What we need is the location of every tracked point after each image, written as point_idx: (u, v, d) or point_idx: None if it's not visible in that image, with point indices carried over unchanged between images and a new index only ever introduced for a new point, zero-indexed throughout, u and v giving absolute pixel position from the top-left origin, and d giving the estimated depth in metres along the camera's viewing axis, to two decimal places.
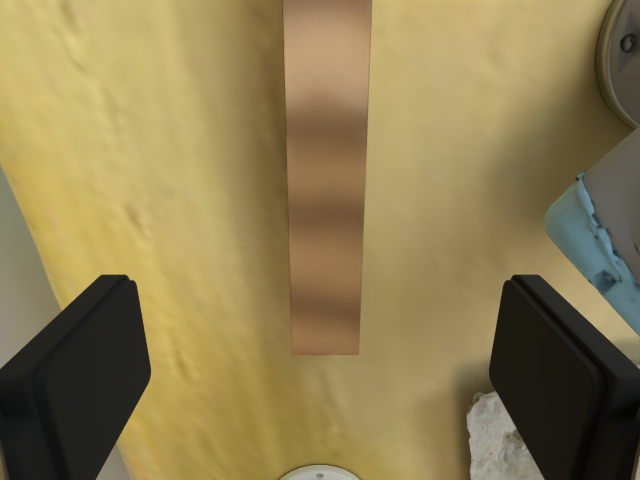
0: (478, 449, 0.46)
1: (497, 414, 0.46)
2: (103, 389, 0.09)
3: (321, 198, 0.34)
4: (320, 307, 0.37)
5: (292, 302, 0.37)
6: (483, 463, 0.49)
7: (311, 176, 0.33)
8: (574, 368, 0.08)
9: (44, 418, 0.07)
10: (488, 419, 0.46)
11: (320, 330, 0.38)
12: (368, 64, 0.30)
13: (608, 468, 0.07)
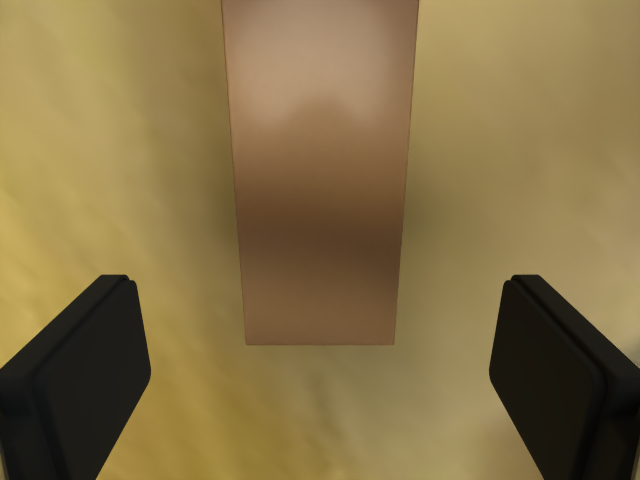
0: None
1: None
2: (103, 389, 0.09)
3: None
4: (306, 233, 0.16)
5: (241, 220, 0.16)
6: None
7: None
8: (574, 368, 0.08)
9: (44, 418, 0.07)
10: None
11: (308, 290, 0.17)
12: None
13: (608, 468, 0.07)
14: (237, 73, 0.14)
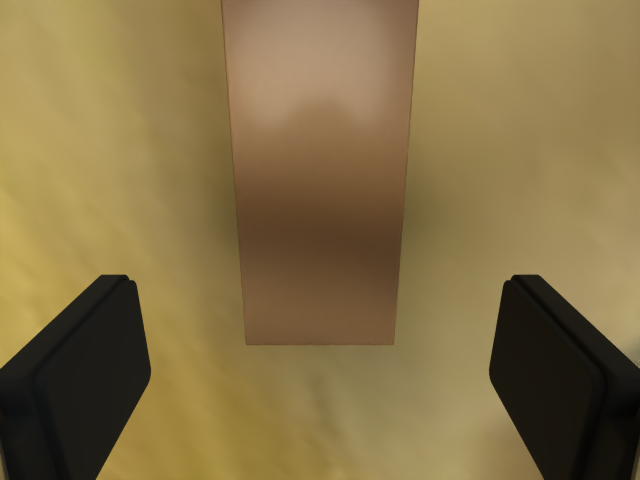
0: None
1: None
2: (103, 389, 0.09)
3: None
4: (306, 233, 0.16)
5: (241, 220, 0.16)
6: None
7: None
8: (574, 368, 0.08)
9: (44, 418, 0.07)
10: None
11: (308, 290, 0.17)
12: None
13: (608, 468, 0.07)
14: (237, 73, 0.14)
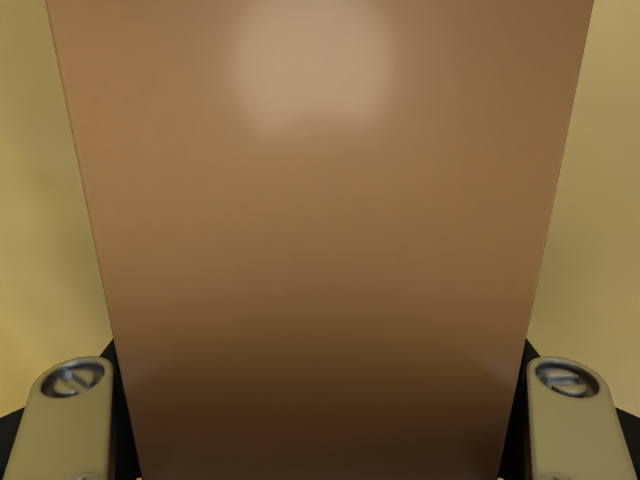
0: None
1: None
2: None
3: None
4: (289, 442, 0.07)
5: (138, 417, 0.07)
6: None
7: None
8: None
9: None
10: None
11: None
12: None
13: None
14: (91, 80, 0.05)
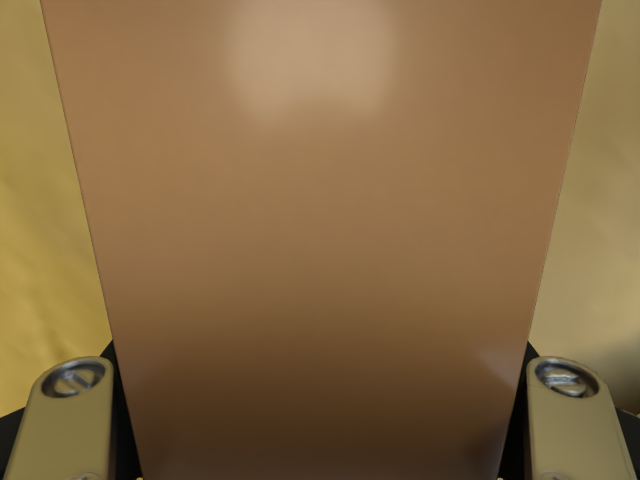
0: None
1: None
2: None
3: None
4: (289, 443, 0.07)
5: (139, 418, 0.07)
6: None
7: None
8: None
9: None
10: None
11: None
12: None
13: None
14: (88, 83, 0.05)
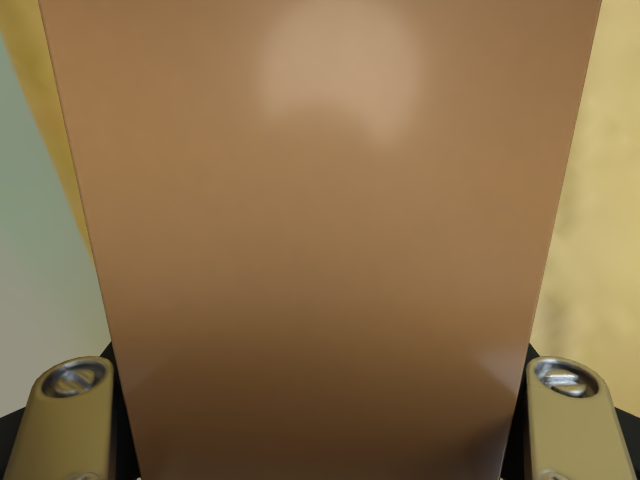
0: None
1: None
2: None
3: None
4: (290, 443, 0.07)
5: (137, 418, 0.07)
6: None
7: None
8: None
9: None
10: None
11: None
12: None
13: None
14: (85, 77, 0.05)
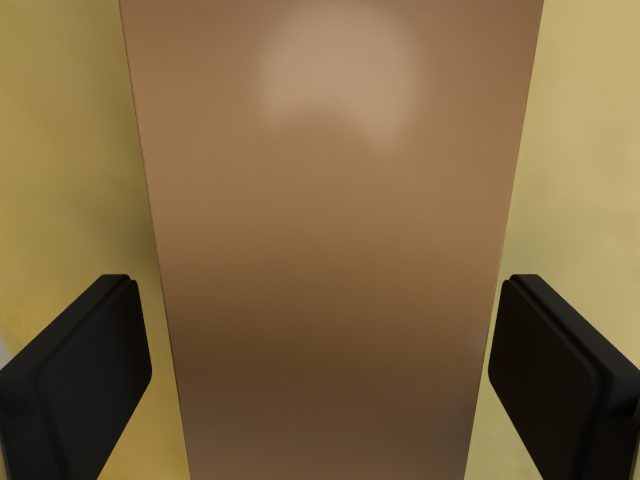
0: None
1: None
2: (104, 388, 0.09)
3: None
4: (303, 397, 0.09)
5: (182, 377, 0.08)
6: None
7: None
8: (572, 367, 0.08)
9: (46, 417, 0.07)
10: None
11: None
12: None
13: (606, 467, 0.07)
14: (158, 114, 0.07)
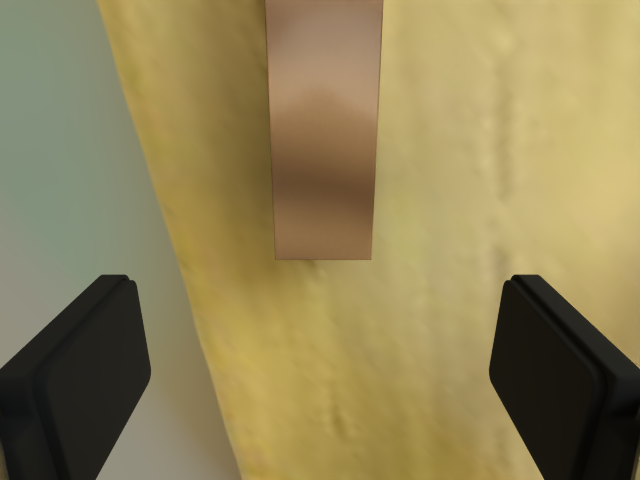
0: None
1: None
2: (103, 389, 0.09)
3: None
4: (314, 184, 0.25)
5: (274, 175, 0.25)
6: None
7: None
8: (574, 368, 0.08)
9: (44, 418, 0.07)
10: None
11: (315, 221, 0.26)
12: None
13: (608, 468, 0.07)
14: (274, 85, 0.23)
